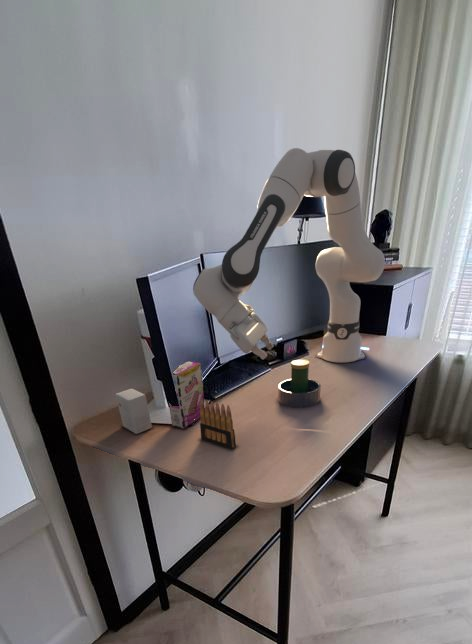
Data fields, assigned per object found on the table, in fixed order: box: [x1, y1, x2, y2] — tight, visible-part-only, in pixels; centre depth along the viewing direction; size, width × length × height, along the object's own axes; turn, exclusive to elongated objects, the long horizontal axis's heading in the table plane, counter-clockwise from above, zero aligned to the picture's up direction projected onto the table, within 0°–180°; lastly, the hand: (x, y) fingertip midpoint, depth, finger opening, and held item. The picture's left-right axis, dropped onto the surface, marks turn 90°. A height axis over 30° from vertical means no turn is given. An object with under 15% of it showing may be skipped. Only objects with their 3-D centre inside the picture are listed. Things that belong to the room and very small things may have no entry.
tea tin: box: [290, 359, 310, 393], centre depth 126 cm, size 5×5×12 cm
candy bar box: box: [168, 361, 205, 430], centre depth 117 cm, size 11×5×16 cm, turn 149°
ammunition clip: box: [199, 398, 237, 450], centre depth 105 cm, size 11×2×12 cm, turn 53°
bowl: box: [277, 378, 322, 409], centre depth 128 cm, size 13×13×5 cm
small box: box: [114, 388, 153, 435], centre depth 117 cm, size 8×6×10 cm
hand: (268, 352), depth 124 cm, fingers open, 8 cm apart
